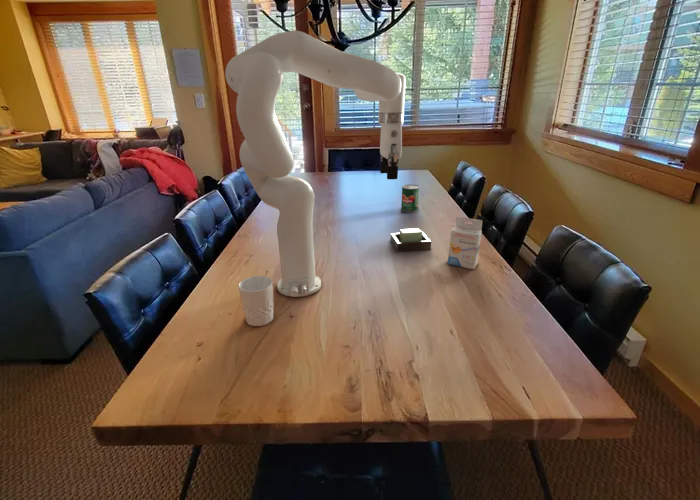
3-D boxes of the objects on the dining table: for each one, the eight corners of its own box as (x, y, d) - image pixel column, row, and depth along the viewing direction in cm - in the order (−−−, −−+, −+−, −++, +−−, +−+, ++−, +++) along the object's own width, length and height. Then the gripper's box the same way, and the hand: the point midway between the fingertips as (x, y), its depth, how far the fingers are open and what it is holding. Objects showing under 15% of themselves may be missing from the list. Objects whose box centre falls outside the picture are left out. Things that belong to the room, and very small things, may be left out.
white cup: (262, 306, 98) (258, 272, 94) (282, 317, 93) (279, 281, 89) (237, 320, 92) (231, 284, 88) (257, 332, 88) (252, 295, 84)
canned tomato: (417, 207, 176) (419, 184, 172) (418, 212, 169) (420, 188, 165) (400, 207, 177) (401, 184, 173) (401, 212, 170) (402, 188, 166)
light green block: (421, 245, 133) (422, 231, 131) (402, 246, 132) (403, 233, 130) (418, 240, 136) (418, 228, 134) (399, 242, 136) (399, 229, 134)
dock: (430, 249, 131) (431, 241, 129) (397, 251, 129) (397, 243, 128) (421, 239, 140) (422, 231, 138) (390, 241, 138) (390, 233, 137)
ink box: (447, 264, 119) (451, 220, 114) (451, 258, 123) (455, 216, 118) (474, 269, 116) (480, 225, 110) (477, 263, 120) (483, 220, 114)
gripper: (411, 120, 105) (407, 181, 111) (395, 117, 120) (393, 170, 127) (385, 120, 104) (382, 182, 110) (373, 117, 119) (371, 171, 126)
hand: (388, 176), depth 119 cm, fingers open, 9 cm apart
